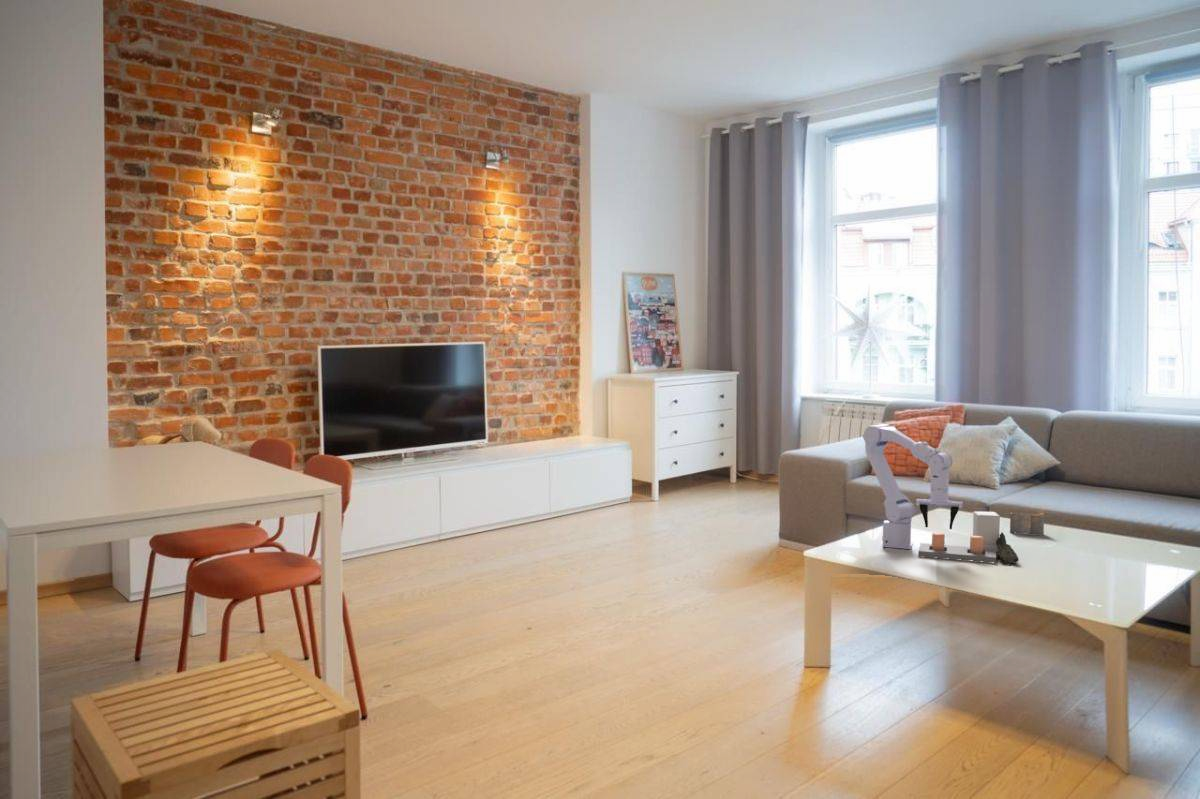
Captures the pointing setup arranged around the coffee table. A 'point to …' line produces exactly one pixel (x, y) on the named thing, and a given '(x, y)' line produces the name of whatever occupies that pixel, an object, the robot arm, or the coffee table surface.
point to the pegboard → (957, 553)
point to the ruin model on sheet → (1027, 523)
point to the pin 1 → (938, 541)
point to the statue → (1006, 550)
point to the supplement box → (986, 528)
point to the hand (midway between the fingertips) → (938, 527)
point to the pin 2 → (976, 544)
